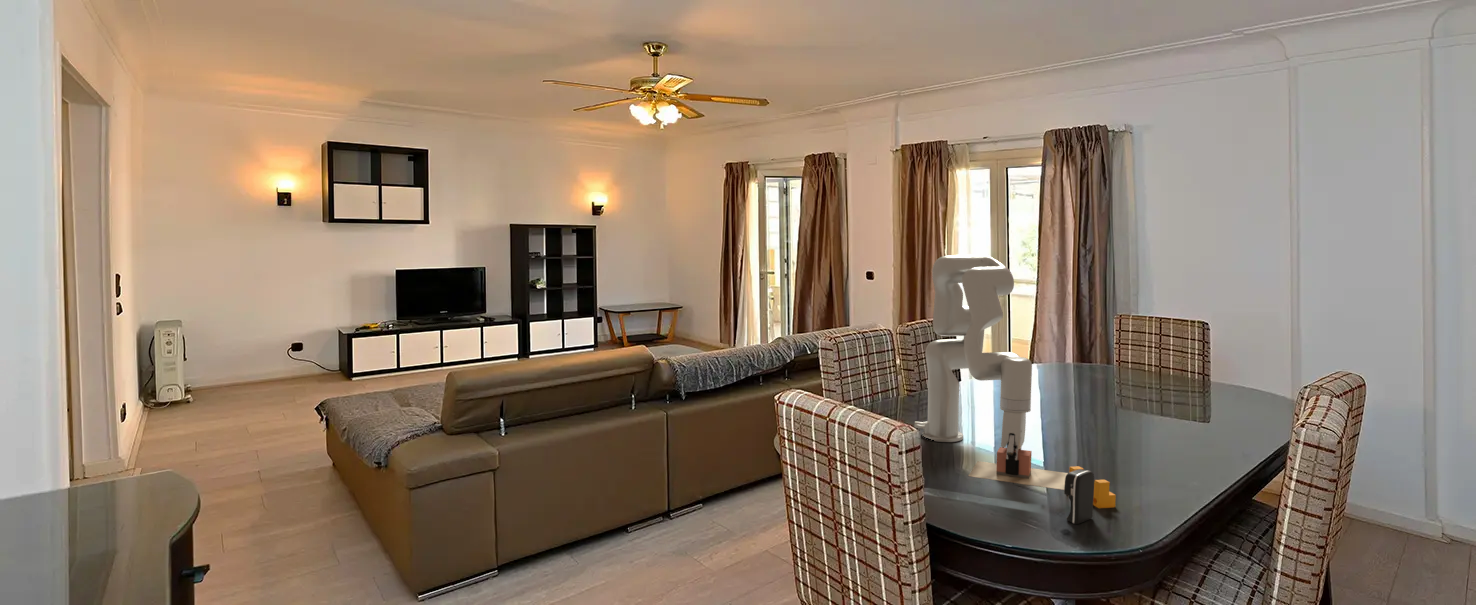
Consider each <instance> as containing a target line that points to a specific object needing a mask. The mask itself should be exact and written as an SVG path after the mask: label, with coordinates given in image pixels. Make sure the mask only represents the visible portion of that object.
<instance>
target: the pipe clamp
mask: <svg viewBox="0 0 1476 605" xmlns="http://www.w3.org/2000/svg"><path fill="white" fill-rule="evenodd" d="M1078 469H1083V470H1085V469H1084V468H1083V467H1082V466H1079V465H1078V466H1077V465H1076V466H1069V472H1072V471H1075V470H1078ZM1069 472H1068V473H1069ZM1110 483H1111V482H1110V481H1108V480H1106V479H1094V498H1093V507H1095V508H1097V509H1110V508H1116V500H1117V498H1116V497H1117V496H1116V495H1117V494H1115V493H1114V492H1112V491H1110V487H1111V486H1110Z"/></svg>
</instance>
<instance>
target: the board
mask: <svg viewBox="0 0 1476 605" xmlns="http://www.w3.org/2000/svg"><path fill="white" fill-rule="evenodd" d="M996 471H997V462H995V463H994V462H987V461H980V460H977V461H976V463H975V464H974V466H973V467H972V469H971V471H970V473H969V474H968V475H967V476H968V477H970V478H976V479H977V478H979V479H983V480H984V479H986V480H992V481H999V482H1006V483H1014V484H1020V485H1027V486H1028V485H1029V486H1034V487H1041V488H1042V487H1043V488H1048V489H1055V490H1062V491H1064V486H1065V477H1066V475H1067V474H1068V473H1069V472H1062V471H1054V470H1047V469H1039V468H1032V467H1031V474H1030V476H1029V479H1027V478H1020V477H1013V476H1006V475H999V474H996ZM1065 496H1066V497H1068V495H1066V494H1065Z"/></svg>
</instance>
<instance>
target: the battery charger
mask: <svg viewBox="0 0 1476 605" xmlns="http://www.w3.org/2000/svg"><path fill="white" fill-rule="evenodd" d="M1083 469H1084V468H1083ZM1083 469H1078V470H1075V471H1072V472H1067V473H1068V474H1067V475H1066V477H1065V486H1064V490H1063V492H1064V495H1065V496H1066V495H1067V497H1068V500H1069V501H1070V512H1069V514H1068V516H1066V517H1065V519H1066V521H1067V522H1070V523H1072V524H1076V525H1079V524H1081V523H1084V522H1087V521H1089V520H1090V519H1091V520H1092V518H1093V516H1094V515H1093V514H1094V512H1093V511H1094V505H1093V498H1094V481H1095V474H1094V473H1093V472H1092V471H1091V470H1086V469H1084V470H1083Z"/></svg>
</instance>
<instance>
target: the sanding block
mask: <svg viewBox="0 0 1476 605" xmlns="http://www.w3.org/2000/svg"><path fill="white" fill-rule="evenodd" d="M1014 452H1015V453H1016V451H1014ZM1032 454H1033V453H1032V450H1027V449H1026V450H1025V449H1021V450H1018V460H1019V474H1018V475H1010V474H1006V473H1005V470H1006V455H1007V447H1004V448H1002V447H1001V446H999V448H998V450H997V452H996V464H997V471H996V474H999V475H1006V476H1013V477H1020V478H1027V479H1029V476H1030V474H1031V468H1032ZM1015 455H1016V454H1015Z"/></svg>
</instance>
